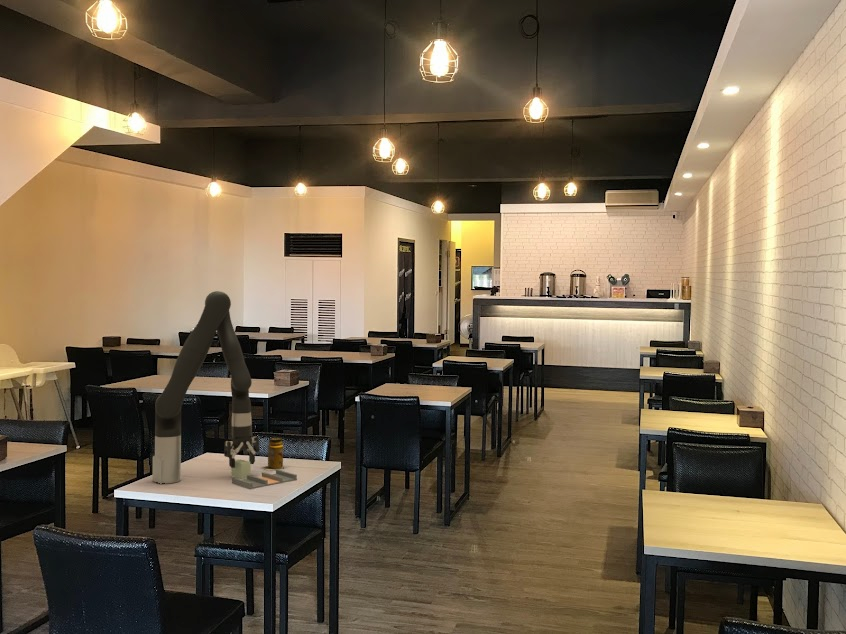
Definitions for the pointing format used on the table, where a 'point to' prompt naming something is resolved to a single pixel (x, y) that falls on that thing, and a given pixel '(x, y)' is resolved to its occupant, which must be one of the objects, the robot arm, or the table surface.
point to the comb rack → (265, 479)
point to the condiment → (274, 454)
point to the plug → (241, 469)
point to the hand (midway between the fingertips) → (242, 465)
